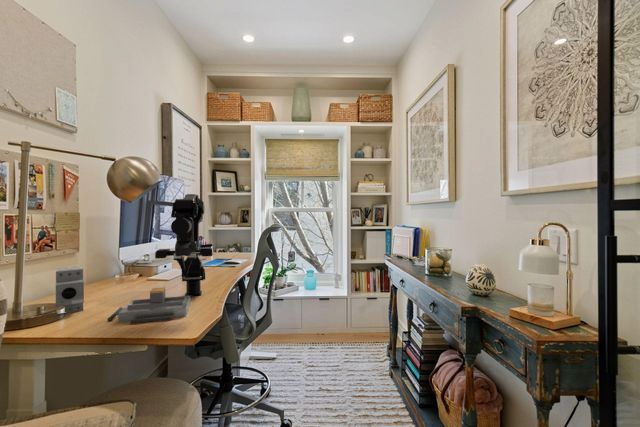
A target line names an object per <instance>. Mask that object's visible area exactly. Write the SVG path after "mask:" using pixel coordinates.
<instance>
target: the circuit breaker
mask: <svg viewBox="0 0 640 427" xmlns="http://www.w3.org/2000/svg"><path fill="white" fill-rule="evenodd" d="M84 284H85V281H84V268H83V266H73V267H60V268H56V269H55V308H56V307H59V306H65V312H66V313H65V314H70V313H77V312H81V311H82V312H83V311H84V302H85V299H84V298H85V297H84V296H85V286H84Z"/></svg>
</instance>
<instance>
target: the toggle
mask: <svg viewBox="0 0 640 427" xmlns="http://www.w3.org/2000/svg"><path fill="white" fill-rule="evenodd" d="M165 297H166V286H165V287H153V288H152V289H151V290H149V299H150V303H159V302H164V301H165Z"/></svg>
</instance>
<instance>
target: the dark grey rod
mask: <svg viewBox="0 0 640 427" xmlns="http://www.w3.org/2000/svg"><path fill="white" fill-rule="evenodd" d="M123 308H124V307H122V306H120V307H119V308H118V309H117V310H116V311H114V313H112V314H111V315H110V316H109V317H108V318H107V321H108V322H112V321H113V320H114V319H115V318H116V317H117V316H118V313H119V312H120V311H121V310H122V309H123Z"/></svg>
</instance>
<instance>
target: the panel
mask: <svg viewBox="0 0 640 427" xmlns="http://www.w3.org/2000/svg"><path fill="white" fill-rule="evenodd" d="M190 306H191V296H185V295H181V296H170V297H169V296H168V297H166V296H165V301H164V302H159V303H150V298H142V299H140V298H139V299H132V300H130V301H129V302H128V303H126V305H125V306H124V307H122V308H123V309H122V310H121V311H120V312H119V313H118V315H117V316H118V317H117V318H118V319H117V320H118V323H126V322H130V320H133V319H144V318H155V317H165V316H172V318H178V317H187V315H188V312H189V309H190Z"/></svg>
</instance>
